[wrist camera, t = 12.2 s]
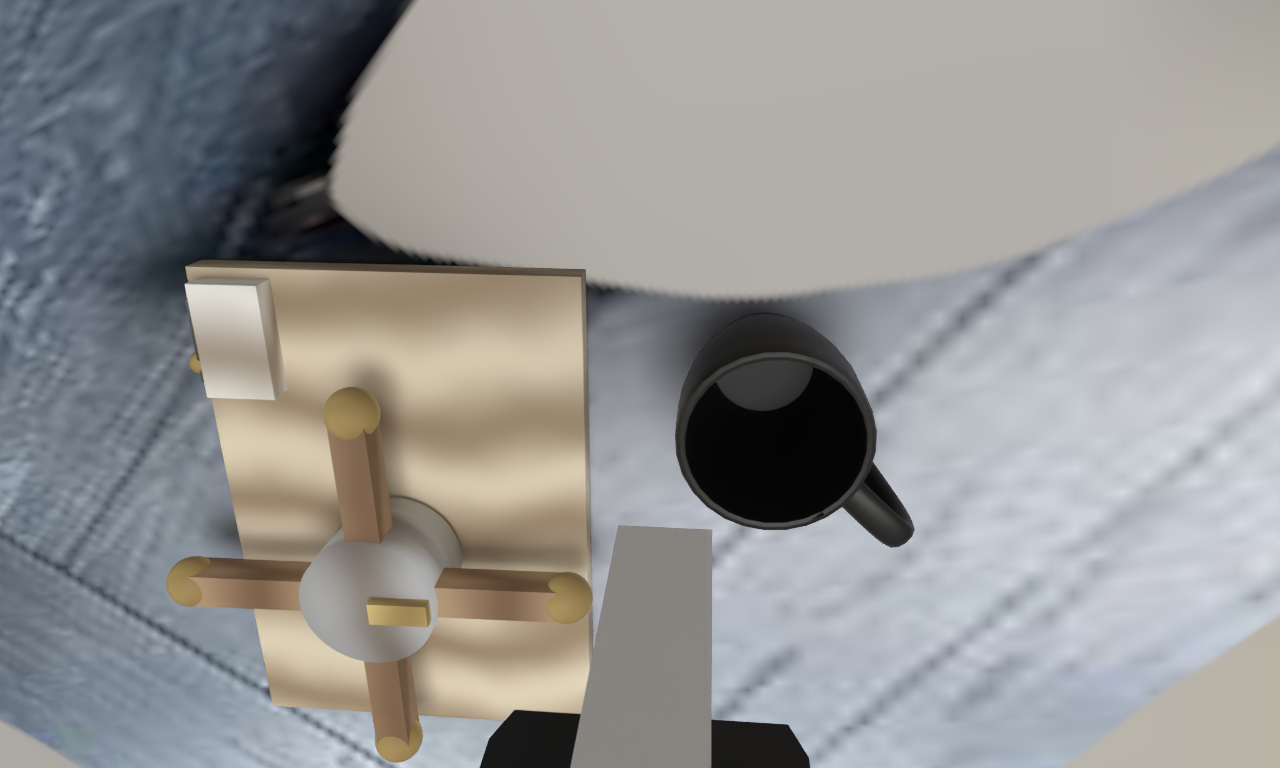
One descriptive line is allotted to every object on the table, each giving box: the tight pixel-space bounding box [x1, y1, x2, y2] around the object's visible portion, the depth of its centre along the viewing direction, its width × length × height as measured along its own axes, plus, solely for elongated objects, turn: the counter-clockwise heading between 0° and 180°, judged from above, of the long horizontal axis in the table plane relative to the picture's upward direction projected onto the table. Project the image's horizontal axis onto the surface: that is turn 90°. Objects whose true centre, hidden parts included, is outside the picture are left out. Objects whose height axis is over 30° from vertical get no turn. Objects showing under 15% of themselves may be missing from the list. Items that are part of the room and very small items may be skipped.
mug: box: [675, 313, 914, 548], centre depth 39 cm, size 8×12×10 cm
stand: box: [184, 260, 593, 721], centre depth 47 cm, size 28×20×3 cm
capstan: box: [166, 387, 593, 762], centre depth 45 cm, size 23×23×6 cm
